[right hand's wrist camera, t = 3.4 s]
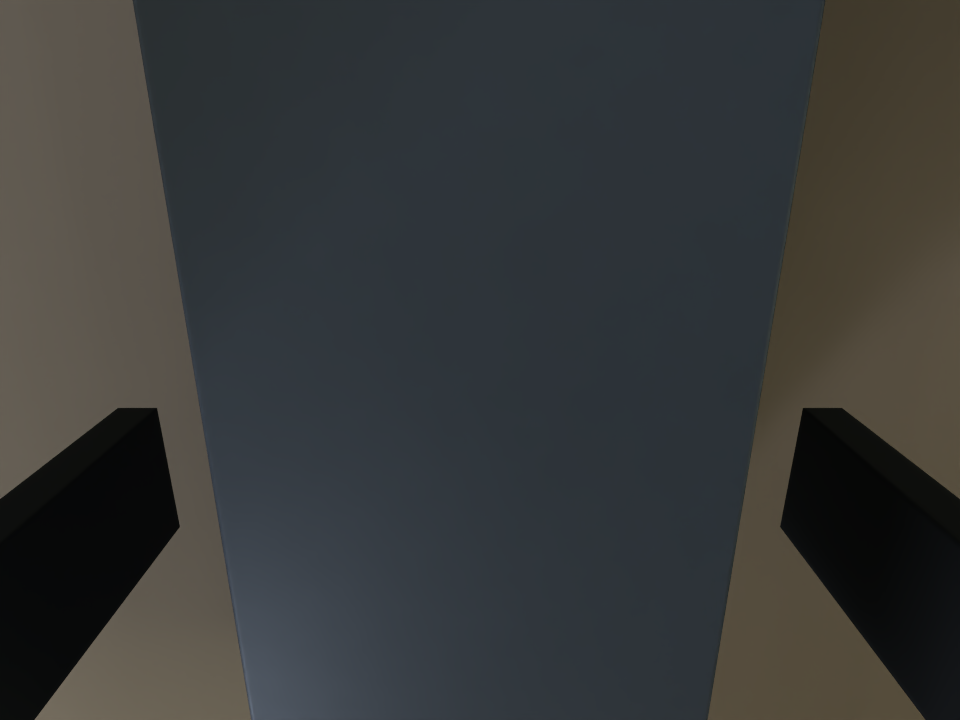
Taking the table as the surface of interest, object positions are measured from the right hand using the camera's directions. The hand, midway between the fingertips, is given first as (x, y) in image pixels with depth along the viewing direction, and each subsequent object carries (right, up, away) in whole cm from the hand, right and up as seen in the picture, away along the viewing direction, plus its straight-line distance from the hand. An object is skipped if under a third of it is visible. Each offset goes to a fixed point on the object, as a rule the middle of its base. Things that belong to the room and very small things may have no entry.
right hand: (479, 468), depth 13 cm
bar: (0, +22, -5) cm, 23 cm away
